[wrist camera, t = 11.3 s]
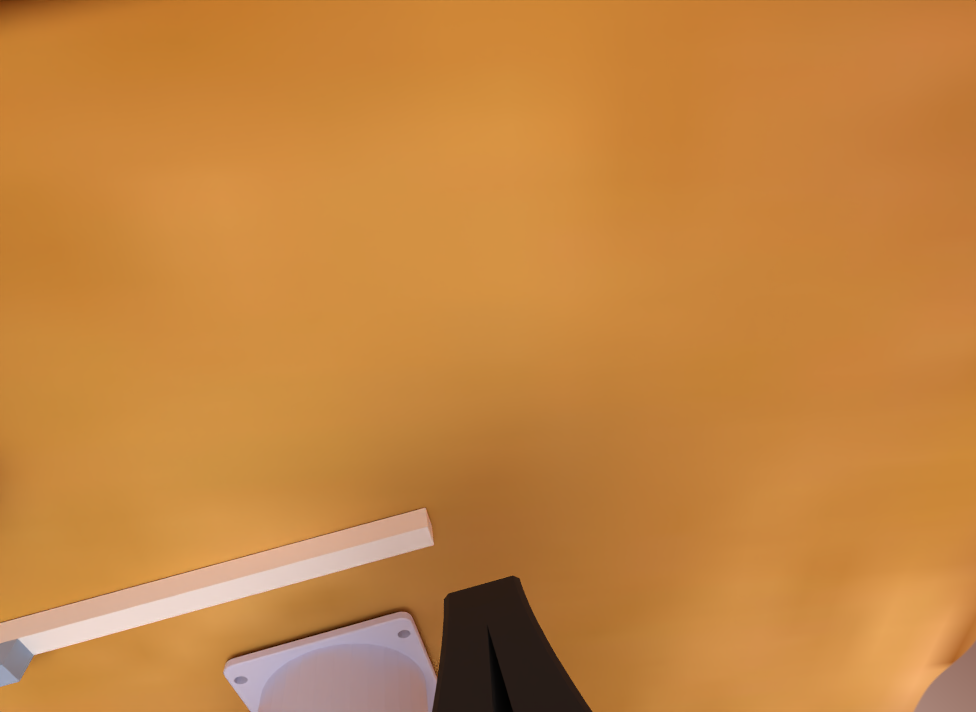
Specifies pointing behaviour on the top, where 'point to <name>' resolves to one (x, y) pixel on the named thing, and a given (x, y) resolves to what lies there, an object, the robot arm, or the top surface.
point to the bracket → (13, 661)
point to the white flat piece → (220, 583)
